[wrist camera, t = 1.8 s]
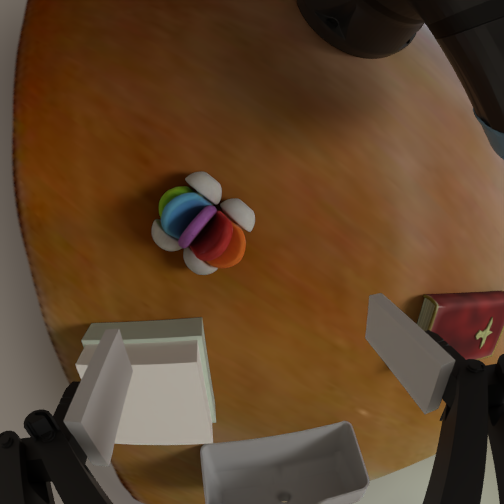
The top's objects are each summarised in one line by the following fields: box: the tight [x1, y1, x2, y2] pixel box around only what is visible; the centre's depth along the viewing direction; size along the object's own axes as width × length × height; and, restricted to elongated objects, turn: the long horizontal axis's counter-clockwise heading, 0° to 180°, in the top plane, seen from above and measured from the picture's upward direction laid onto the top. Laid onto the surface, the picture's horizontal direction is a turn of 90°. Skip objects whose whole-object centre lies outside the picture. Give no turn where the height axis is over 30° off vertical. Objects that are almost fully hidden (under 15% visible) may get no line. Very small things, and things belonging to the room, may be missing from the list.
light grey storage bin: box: [200, 421, 370, 504], centre depth 41 cm, size 25×16×12 cm, turn 94°
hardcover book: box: [417, 291, 504, 360], centre depth 41 cm, size 12×21×4 cm, turn 85°
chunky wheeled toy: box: [152, 172, 255, 275], centre depth 29 cm, size 8×10×7 cm
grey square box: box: [75, 317, 216, 445], centre depth 34 cm, size 14×14×8 cm
